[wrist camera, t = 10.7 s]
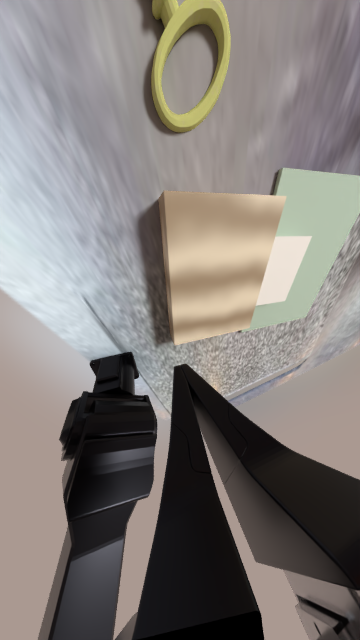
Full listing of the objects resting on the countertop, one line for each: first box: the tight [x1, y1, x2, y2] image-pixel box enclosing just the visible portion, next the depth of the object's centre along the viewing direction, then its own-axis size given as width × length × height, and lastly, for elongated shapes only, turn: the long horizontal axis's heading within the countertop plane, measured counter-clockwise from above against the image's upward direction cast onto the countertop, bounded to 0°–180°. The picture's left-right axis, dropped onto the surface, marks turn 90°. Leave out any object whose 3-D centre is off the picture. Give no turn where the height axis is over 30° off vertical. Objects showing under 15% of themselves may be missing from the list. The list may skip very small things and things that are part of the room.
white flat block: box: [256, 236, 312, 306], centre depth 22 cm, size 10×7×2 cm
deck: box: [158, 191, 287, 345], centre depth 20 cm, size 18×14×3 cm
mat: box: [240, 168, 360, 333], centre depth 25 cm, size 24×18×1 cm
